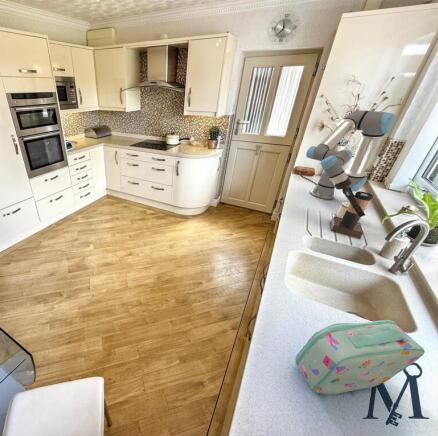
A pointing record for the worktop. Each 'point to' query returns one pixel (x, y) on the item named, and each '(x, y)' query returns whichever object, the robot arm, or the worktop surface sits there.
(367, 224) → the worktop surface
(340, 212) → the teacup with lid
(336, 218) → the block
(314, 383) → the lunch box
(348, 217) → the travel mug
